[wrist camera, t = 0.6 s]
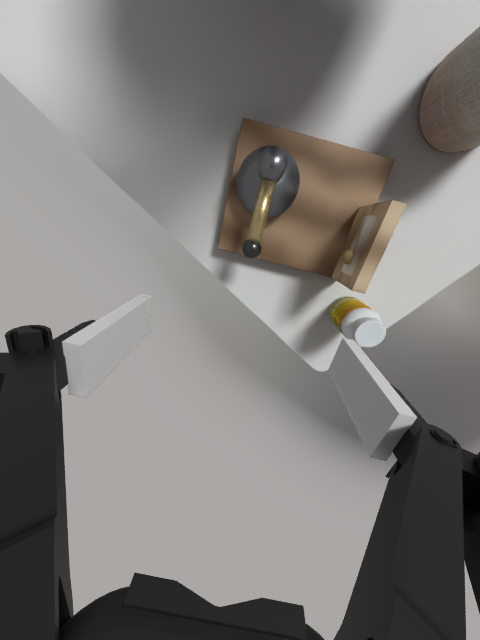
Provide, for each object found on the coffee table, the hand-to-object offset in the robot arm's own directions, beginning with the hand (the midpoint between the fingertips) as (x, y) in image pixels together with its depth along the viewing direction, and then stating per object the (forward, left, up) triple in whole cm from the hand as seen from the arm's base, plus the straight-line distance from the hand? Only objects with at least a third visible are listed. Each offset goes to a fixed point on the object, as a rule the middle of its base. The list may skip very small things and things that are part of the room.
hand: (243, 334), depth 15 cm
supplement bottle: (+2, +17, -24) cm, 29 cm away
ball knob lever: (-9, -1, -22) cm, 24 cm away
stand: (-11, +4, -24) cm, 26 cm away
